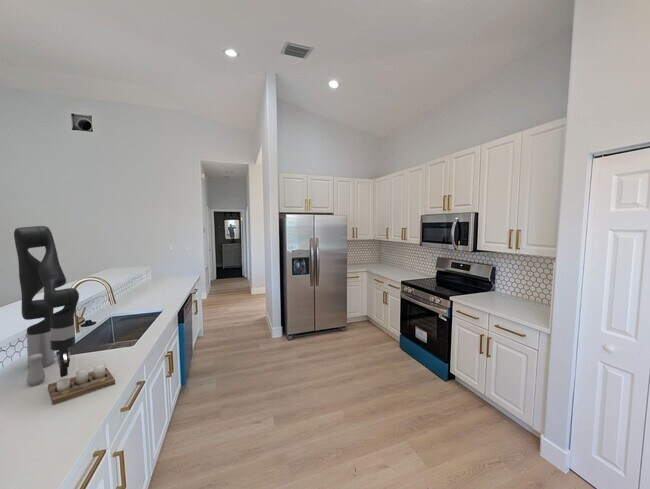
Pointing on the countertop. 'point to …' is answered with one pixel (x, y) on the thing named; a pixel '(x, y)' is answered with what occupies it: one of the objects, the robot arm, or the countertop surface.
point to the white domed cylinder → (63, 384)
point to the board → (80, 387)
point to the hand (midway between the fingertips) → (63, 375)
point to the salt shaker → (35, 370)
